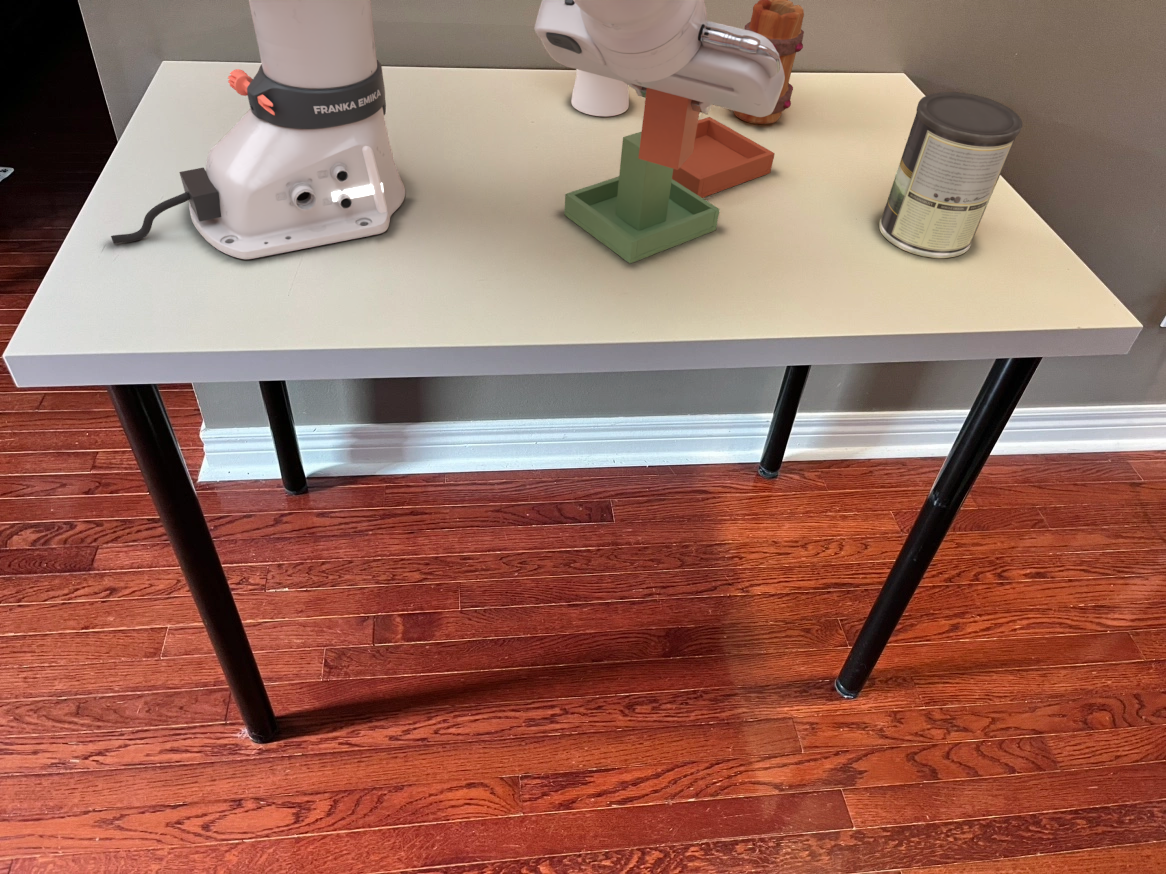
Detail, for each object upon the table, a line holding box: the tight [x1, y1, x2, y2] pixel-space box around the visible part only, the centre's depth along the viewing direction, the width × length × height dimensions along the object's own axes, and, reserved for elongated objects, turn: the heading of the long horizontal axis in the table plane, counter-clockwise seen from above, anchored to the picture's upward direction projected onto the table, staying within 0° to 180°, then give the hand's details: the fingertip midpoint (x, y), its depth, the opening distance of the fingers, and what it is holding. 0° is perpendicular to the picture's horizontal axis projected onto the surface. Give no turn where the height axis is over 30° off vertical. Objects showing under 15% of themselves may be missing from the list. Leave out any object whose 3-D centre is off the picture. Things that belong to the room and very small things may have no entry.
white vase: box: [570, 69, 630, 117], centre depth 113 cm, size 11×11×15 cm
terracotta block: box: [638, 88, 700, 170], centre depth 80 cm, size 4×4×10 cm
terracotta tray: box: [672, 116, 776, 199], centre depth 106 cm, size 12×11×3 cm
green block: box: [616, 131, 673, 231], centre depth 93 cm, size 4×4×9 cm
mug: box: [733, 0, 805, 125], centre depth 115 cm, size 15×8×15 cm, turn 168°
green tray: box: [563, 175, 720, 265], centre depth 96 cm, size 12×11×3 cm
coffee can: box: [878, 91, 1023, 259], centre depth 94 cm, size 10×10×14 cm
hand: (675, 97), depth 80 cm, fingers closed on terracotta block, 4 cm apart
